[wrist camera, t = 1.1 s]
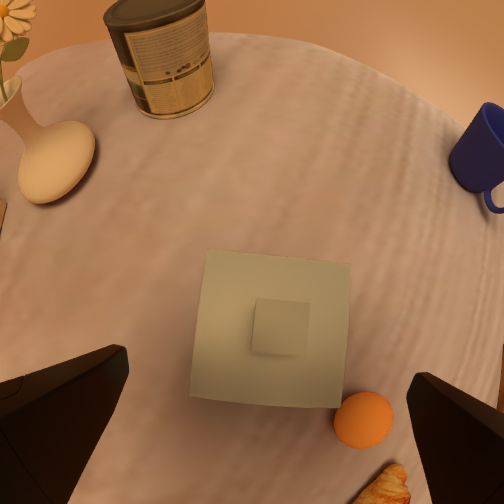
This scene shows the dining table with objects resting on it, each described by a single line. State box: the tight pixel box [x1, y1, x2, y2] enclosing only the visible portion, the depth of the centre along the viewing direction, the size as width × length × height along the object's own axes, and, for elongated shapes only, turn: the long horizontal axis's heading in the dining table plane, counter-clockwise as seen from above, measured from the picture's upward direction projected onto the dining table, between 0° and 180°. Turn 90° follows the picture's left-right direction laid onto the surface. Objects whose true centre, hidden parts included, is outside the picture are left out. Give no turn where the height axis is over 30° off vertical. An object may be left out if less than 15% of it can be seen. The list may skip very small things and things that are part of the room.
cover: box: [188, 249, 351, 408], centre depth 20 cm, size 10×10×10 cm
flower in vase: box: [0, 0, 95, 204], centre depth 18 cm, size 13×11×25 cm
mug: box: [450, 102, 504, 214], centre depth 26 cm, size 8×12×10 cm
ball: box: [334, 392, 393, 449], centre depth 21 cm, size 5×5×5 cm
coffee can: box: [103, 0, 214, 119], centre depth 27 cm, size 10×10×14 cm
